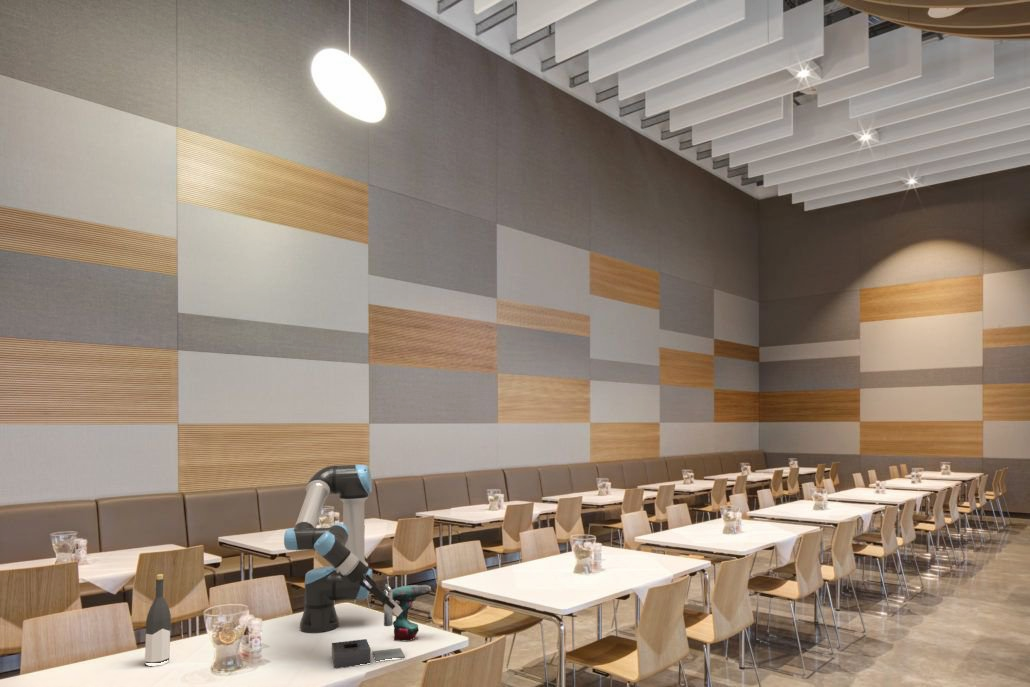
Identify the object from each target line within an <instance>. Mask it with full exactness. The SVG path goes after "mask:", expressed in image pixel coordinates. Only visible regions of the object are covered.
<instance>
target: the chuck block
mask: <svg viewBox="0 0 1030 687" xmlns="http://www.w3.org/2000/svg"><path fill="white" fill-rule="evenodd" d="M371 653H372V651H371V647H370V644H369V642H368V639H366V638H365V639H356V640H348V641H347V640H346V641H337V642H331V661H332V660H333V661H332V664H333V669H334V668H336V669H342V668H341V667H344V668H350V667H349V666H352V667H356V666H355V665H360V664H367V663H372V661H371ZM360 666H361V665H360Z"/></svg>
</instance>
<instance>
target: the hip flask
mask: <svg viewBox="0 0 1030 687" xmlns="http://www.w3.org/2000/svg"><path fill="white" fill-rule="evenodd" d="M384 588H385V589H384V590H383V591H384V594H385V595H386V596H387V597H389V598H390V599H391V600H392V590H393V589H392V588H391V586H390V585H389V584H388V583H385V585H384ZM393 614H394V613H393V612H392V611H391V610H390V609H389V608H388V607H387V606H385V605H384V606H383V626H384V627H392V626H394V625H393V622H394V620H393V616H394V615H393Z"/></svg>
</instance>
